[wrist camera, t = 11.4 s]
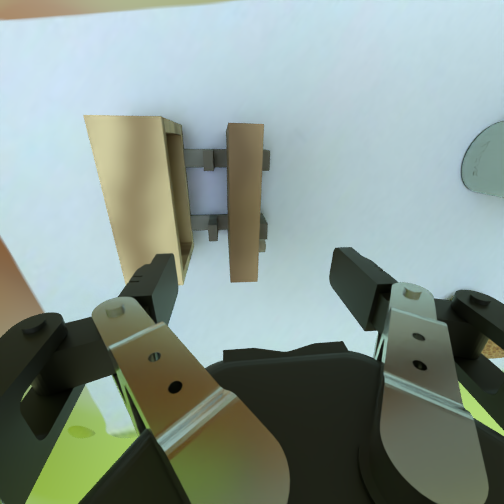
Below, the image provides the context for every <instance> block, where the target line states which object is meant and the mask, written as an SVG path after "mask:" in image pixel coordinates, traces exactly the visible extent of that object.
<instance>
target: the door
mask: <svg viewBox="0 0 504 504" xmlns="http://www.w3.org/2000/svg"><path fill="white" fill-rule="evenodd" d="M263 133H264V124H247V123H228V126H227V130H226V148H227V207H228V245H229V263H230V281H231V282H257V280H258V256H259V252H265V249H266V244H265V239H259V231H260V207H261V182H262V158H263Z"/></svg>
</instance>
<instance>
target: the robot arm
mask: <svg viewBox="0 0 504 504" xmlns="http://www.w3.org/2000/svg"><path fill="white" fill-rule="evenodd" d="M462 178H463V181H464V184H465V185H466V186H467V188H468V189H470V190H472V191H474V192H478V193H484V194H489V195H494V196H499V197H503V198H504V121H502V122H498V123H496V124H494V125H492V126H490V127H489V128H487V129H486V130H485V131H483V132H482V133H481V134H480V135H479V136H478V137H477V138H476V139H475V141H474V142H473V143H472V145H471V146H470V148H469V149H468V151H467V153H466V156H465V158H464V161H463V165H462ZM329 279H330V284H331V286H332V288H333V289H334V290H335V292H336V293H337V295H338V296H339V297H340V299H341V300H342V301H343V303H344V304H345V305H346V307H347V308H348V309H349V311H350V312H351V313H352V315H353V316H354V317H355V319H356V320H357V322H358V323H359V324H360V326H361V327H362V328H363V330H364V331H378V335H377V338H376V343H375V349H374V354H373V358H372V357H369V356H367V355H364V354H361V353H357V352H353V351H348V349H347V348H346V346H345V344H344V343H343V341H340V342H327V343H314V344H311V345H308V346H305V347H302V348H298V349H295V350H292V351H289V352H281V351H273V350H265V349H258V348H247V349H234V350H223V361H220V362H217V363H214V364H212V365H210V366H208V367H206V368H204V367H203V366H202V365H201V364H200V363H199V361H198V360H197V359H196V358H195V357H194V356H193V355H192V353H191V352H190V351H189V350H188V349H187V348H186V347H185V345H184V344H183V343H182V342H181V341H180V340H179V339H178V337H177V336H176V335H175V334H174V333H173V332H172V331H171V329H170V328H169V327H168V323H169V320H170V317H171V314H172V310H173V307H174V304H175V301H176V298H177V294H178V278H177V271H176V264H175V257H174V254H173V253H163V254H156V255H155V257H154V258H153V260H152V262H151V263H150V264H145V265H143V266H142V267H140V268H139V269H137V270H136V271H135V273H134V274H133V276H132V277H131V279H130V280H129V283H127V284H126V286H125V287H124V289H123V290H122V292H121V293H120V295H119V296H118V297H117V298H113V299H110V300H107V301H105V302H103V303H101V304H100V305H98V306H97V307H96V308H95V309H94V310H93V312H92V317H89V318H85V319H81V320H77V321H73V322H68V323H65V322H64V320H63V317H62V315H61V314H59V313H43V314H38V315H35V316H32V317H29V318H27V319H25V320H23V321H21V322H19V323H17V324H16V325H14V326H13V327H11V328H10V329H9V330H8V331H7V332H6V333H5V334H4V335H3V336H2V337H1V338H0V504H25V502H26V500H27V499H28V496H29V495H30V493H31V491H32V489H33V487H34V485H35V483H36V481H37V479H38V477H39V475H40V473H41V471H42V469H43V467H44V465H45V463H46V461H47V459H48V457H49V455H50V453H51V451H52V449H53V447H54V445H55V443H56V441H57V439H58V437H59V435H60V433H61V431H62V429H63V428H64V426H65V424H66V422H67V420H68V418H69V416H70V414H71V412H72V410H73V408H74V406H75V404H76V402H77V400H78V398H79V396H80V394H81V392H82V390H83V388H84V386H85V384H86V383H89V382H92V381H95V380H98V379H101V378H104V377H107V376H110V375H112V377H113V379H114V382H115V384H116V386H117V388H118V390H119V393H120V395H121V397H122V399H123V401H124V404H125V406H126V408H127V410H128V412H129V415H130V417H131V420H132V422H133V425H134V427H135V430H136V433H137V435H138V438H137V439H136V440H135V441H134V442H133V443H132V444H131V446H130V447H129V448H128V449H127V450H126V451H125V452H124V453H123V454H122V456H121V457H120V458H119V459H118V460H117V461H116V462H115V463H114V464H113V465H112V467H111V468H110V469H109V470H108V471H107V472H106V473H105V475H103V477H102V478H101V479H100V480H99V481H98V482H97V483H96V484H95V485H94V487H93V488H92V489H91V490H90V491H89V492H88V493H87V494H86V495H85V497H84V498H83V499H82V500H81V501H80V502H79V503H78V504H504V436H502V435H501V434H499V433H498V432H496V431H494V430H492V429H491V428H489V427H488V426H486V425H484V424H482V423H481V422H479V421H478V420H476V419H474V418H473V417H472V415H471V413H470V412H469V411H467V410H466V409H465V408H464V406H463V403H462V399H461V393H460V389H459V383H458V381H459V382H460V383H461V384H462V385H463V386H464V387H465V388H466V389H467V390H468V392H469V393H470V394H471V395H472V396H473V397H474V398H475V399H476V400H477V402H478V403H479V404H480V405H481V406H482V407H483V408H484V409H485V410H486V411H487V412H488V414H489V415H490V416H491V417H492V418H493V419H494V420H495V421H496V422H497V423H498V424H499V426H500V427H501V428H502V429H503V430H504V372H502V371H501V370H500V369H499V368H498V367H497V366H496V365H494V364H493V363H492V362H491V361H490V360H489V359H488V358H486V357H485V356H484V355H483V354H482V353H481V352H482V351H483V349H484V347H485V345H486V343H487V342H488V340H489V339H490V340H491V341H493V342H494V343H495V344H496V345H498V346H499V347H500V348H502V349H503V350H504V304H503V303H501V302H499V301H498V300H496V299H494V298H492V297H490V296H488V295H485V294H483V293H479V292H475V291H471V290H459V291H456V293H455V295H454V297H453V299H452V301H449V300H442V299H434V296H433V295H432V293H431V292H429V291H428V290H426V289H425V288H423V287H421V286H418V285H415V284H411V283H406V282H397V281H396V280H395V279H394V278H392V277H391V276H390V275H389V274H387V273H386V272H385V271H383V270H382V269H381V268H380V267H378V265H376V264H375V263H374V262H373V261H371V260H369V259H367V258H365V257H363V256H361V255H360V254H359V253H358V252H357V251H355V250H354V249H353V248H352V247H341V248H335V249H334V252H333V257H332V263H331V269H330V275H329ZM30 385H32V387H31V389H30V390H29V392H28V393H27V395H26V396H25V397H24V399H23V400H22V397H23V395H24V393H25V392H26V390H27V389H28V387H29V386H30ZM21 400H22V401H21Z"/></svg>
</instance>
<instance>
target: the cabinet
mask: <svg viewBox="0 0 504 504" xmlns="http://www.w3.org/2000/svg"><path fill="white" fill-rule="evenodd" d="M83 116H84V120H85V124H86V128H87V132H88V136H89V140H90V144H91V148H92V152H93V156H94V160H95V164H96V168H97V172H98V176H99V180H100V184H101V188H102V192H103V196H104V200H105V204H106V208H107V212H108V216H109V220H110V224H111V228H112V232H113V236H114V240H115V244H116V248H117V252H118V256H119V260H120V264H121V268H122V272H123V276H124V280H125V284H127V283H129V280H130V279H131V277H132V276H133V274H134V273H135V271H136V270H137V269H139V268H140V267H142V266H143V265H145V264H150V263H151V262H152V260H153V258H154V257H155V255H156V254H163V253H173V254H174V257H175V264H176V271H177V278H178V285H183V284H184V280H185V277H186V273H187V270H188V266H189V262H190V259H191V255H192V252H193V248H194V243H193V233H192V231H193V230H208V233H209V241H218V230H226V229H228V214H219V215H191V213H190V204H189V194H188V184H187V175H186V167H204V171H214V168H215V167H227V149H184V145H183V136H182V126H181V125H180V124H177V123H175V122H173V121H170V120H168V119H166V118H163V117H161V116H109V115H83ZM269 168H270V151H269V150H263V158H262V171H269ZM267 225H268V224H267V222H266V220H265V218H264V216H263V215H262V214H260V231H259V239H267Z"/></svg>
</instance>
